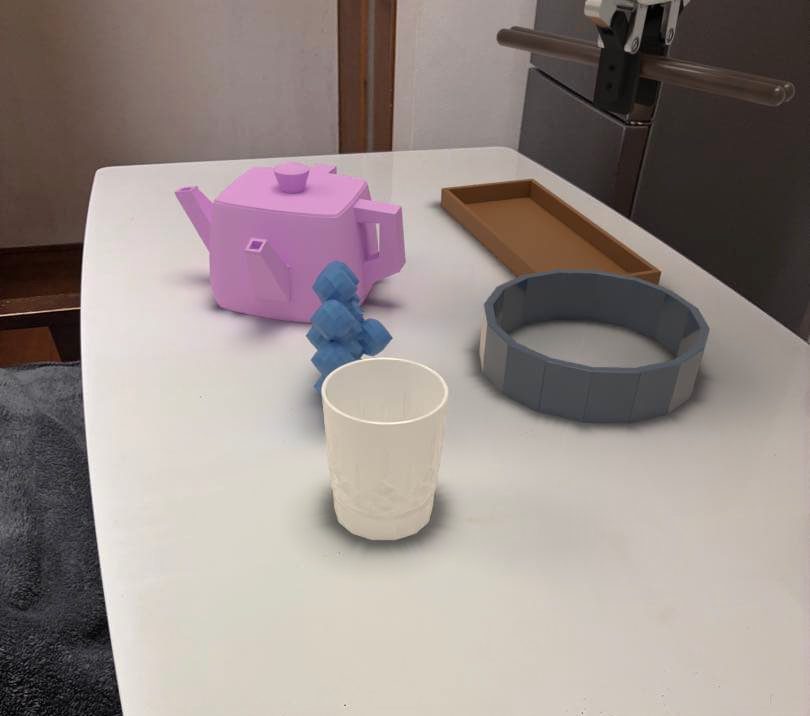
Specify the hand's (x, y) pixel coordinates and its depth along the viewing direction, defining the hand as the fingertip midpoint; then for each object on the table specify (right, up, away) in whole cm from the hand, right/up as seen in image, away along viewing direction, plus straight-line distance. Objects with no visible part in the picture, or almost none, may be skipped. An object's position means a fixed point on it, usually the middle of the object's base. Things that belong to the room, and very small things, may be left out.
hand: (624, 104), depth 64 cm
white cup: (-18, -31, -4) cm, 36 cm away
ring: (-1, -18, +11) cm, 21 cm away
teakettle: (-28, -9, +20) cm, 35 cm away
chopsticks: (0, +2, -1) cm, 2 cm away
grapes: (-21, -22, +6) cm, 31 cm away
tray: (-2, 0, +31) cm, 31 cm away
